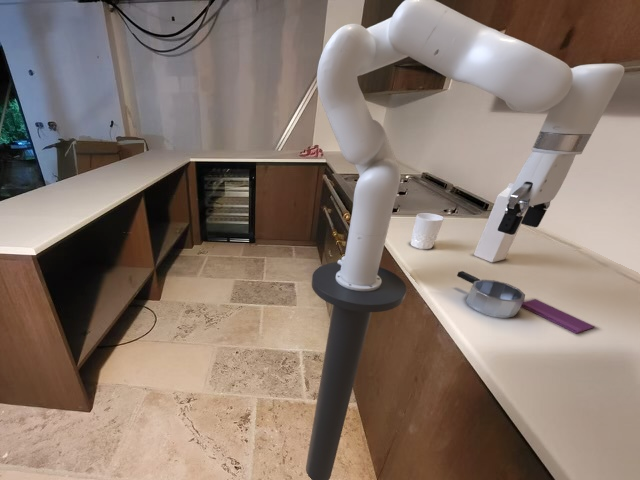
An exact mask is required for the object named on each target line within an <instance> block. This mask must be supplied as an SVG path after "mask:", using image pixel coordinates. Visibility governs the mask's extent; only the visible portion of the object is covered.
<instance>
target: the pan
mask: <svg viewBox="0 0 640 480" xmlns="http://www.w3.org/2000/svg"><path fill="white" fill-rule="evenodd" d="M456 277H458V278H460V279H462V280H464V281H466V282H468V283H470V284H472V285H471V287H470V290H469V292H468V295H467V297H466V304H467V305H468V306H469V307H470V308H472V309H473V310H474V311H476V312H479V313H480V314H482V315H486V316H489V317H493V318H499V319H500V318H501V319H504V318H505V319H510V318H512V317H515V316H516V315H517V314H518V313H519V311H520V309H521V308H522V307H521V305H522V303H523V302H525V300H526V294H525V293H524V292H523V291H522V290H521V289H520V288H518V287H516V286H514V285H512V284H510V283H507V282H503V281H498V280H494V279H480V278H478V277H476V276H474V275H472V274H470V273H468V272H467V271H466V272H465V271H463V270H461V271H460V270H459V271H458V272H457V274H456Z"/></svg>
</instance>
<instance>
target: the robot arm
mask: <svg viewBox="0 0 640 480" xmlns="http://www.w3.org/2000/svg"><path fill="white" fill-rule="evenodd" d="M408 57H409V58H410V59H412V60H414V61H416V62H418V63H420V64H422V65H424V66H426V67H427V68H430V69H432V70H433V71H435V72H437V73H438V74H441V75H442V76H444V77H446V78H448V79H450V80H452V81H454V82H458V83H463V84H468V85H471V86H473V87H476V88H479V89H481V90H483V91H485V92H487V93H489V94H492V95H493V96H495V97H497V98H498V99H501V100H502V101H504V102H505V104H506V106H507V107H508V108H509V109H510V110H512V111H514V112H518V113H526V114H539V113H543V112H545V111H548V112H547V115H546V117H545V119H544V120H543V121H544V122H543V124H542V126H541V128H540V131H539V133H538V134H537V137H536V139H535V141H534V143H533V146H532V148H531V151H532V152H531V153H530V154H529V156H528V157H527V159H526V160H525V163H524V164H523V166H522V168H521V169H520V172H519V173H518V174H517V177H516V179H515V181H514V182H513V183H514V185H513V187H512V189H511V191H510V193H509V195H508V197H507V200H508V201H509V203H508V204H507V209H506V210H505V214H504V216H503V218H502V221H501V223H500V225H499V227H498V231H500V232H503V233H507V234H510V235H513V234H515V233H516V231H517V229H518V227H519V225H520V223H521V225H524V226H526V227H527V226H528V227H532V228H538V227H539V226H540V224H541V222H542V220H543V218H544V216H546V215H545V214H546V212H547V211H548V209H549V208H550V206H551V202H552V201H553V200H554V199H555V198H556V196H557V194H558V193H559V191H560V190H561V187H562V185H563V184H564V182H565V179H566V178H567V176H568V174H569V172H570V169H571V167H572V165H573V162H574V160H575V157H576V156H577V155H578V156H579V155H582V154H583V152H584V150H585V148H586V146H587V145H588V142H589V141H590V139H591V137H592V134H593V133H594V132H595V129H596V128H597V126H598V124H599V122H600V120H601V118H602V116H603V115H604V113H605V111H606V109H607V107H608V106H609V103H610V101H612V98H613V96H614V94H615V92H616V90H617V88H618V87H619V85H620V82H621V81H622V79H623V77H624V74H625V67H624V66H623V65H622V64H621V63H620V64H619V63H591V64H590V63H588V64H580V65H577V66H574V67H570V66H569V65H568V64H567V63H566V62H565V61H563V60H561V59H560V58H558V57H556V56H553V55H552V54H550V53H548V52H546V51H544V50H542V49H540V48H538V47H536V46H534V45H532V44H529V43H527V42H525V41H523V40H521V39H518V38H516V37H513V36H510V35H508V34H505V33H503V32H501V31H499V30H497V29H495V28H492V27H489V26H487V25H485V24H483V23H481V22H479V21H476V20H474V19H473V18H471V17H468V16H467V15H464V14H462V13H461V12H459V11H456V10H455V9H453V8H451V7H449V6H447V5H445V4H443V3H442V2H439V1H437V0H403V1H402V2H401V3H400V4H399V6H397V8H396V9H395V11H394V12H393V14H392V16H391V17H389V18H387V19H385V20H382V21H380V22H378V23H376V24H374V25H371V26H369V27H367V28H366V27H364V26H363V25H361V24H359V23H348V24H345V25H343V26H341V27H339V28H338V29H337V30H336V31H335V32H334V33H333V34H332V35H331V37H330V38H329V39H328V41H327V42H326V44H325V46H324V47H323V50H322V52H321V55H320V57H319V61H318V65H317V70H316V71H317V72H316V86H317V92H318V96H319V99H320V102H321V105H322V107H323V111H324V112H325V115H326V117H327V119H328V122H329V125H330V127H331V130H332V132H333V135H334V137H335V140H336V142H337V144H338V147H339V149H340V152H341V155H342V157H343V158H344V159H345V161H346V162H348V163H349V164H351V165H354V166H355V169H356V172H357V173H358V176H359V177H358V179H357V181H356V185H355V188H354V192H353V203H352V210H351V217H350V223H349V230H348V235H347V239H346V246H345V253H344V256H342V257H341V259H338V260H337V261H336V262H337V263H338V264H339V265H341V270H340V271H338V272H337V273H336V281H337V282H338V283H339V284H340V285H341V286H343V287H345V288H347V289H351V290H355V291H373V290H376V289H378V288H379V287H380V286H381V282H382V280H381V278H380V277H379V276H378V275H377V273H378V269H379V267H380V265H381V261H382V256H383V252H384V248H385V245H386V241H387V235H388V233H389V232H388V231H389V228H390V224H391V220H392V214H393V212H394V211H393V210H394V208H395V203H396V200H397V196H398V192H399V188H400V183H401V178H402V175H401V168H400V166H399V163H398V161H397V158H396V155H395V153H394V150H393V147H392V145H391V143H390V140H389V137H388V135H387V133H386V131H385V128H384V127H383V125H382V124H381V123H380V122H379V121H378V120H375V119H373V116H372V114H371V112H370V110H369V107H368V105H367V101H366V99H365V96H364V94H363V92H362V90H361V87H360V85H359V81H358V77H359V76H363V75H367V74H368V73H370V72H373V71H376V70H378V69H381V68H383V67H386V66H389V65H391V64H394V63H396V62H399V61H402V60H404V59H406V58H408ZM520 205H522V208H521V209H520ZM527 208H528V209H527ZM526 209H527V211H526ZM525 211H526V213H525V215H524V217H523V216H521V215H522V214H523V213H524V212H525ZM522 218H523V220H522ZM521 221H522V222H521Z"/></svg>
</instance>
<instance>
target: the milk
mask: <svg viewBox="0 0 640 480" xmlns="http://www.w3.org/2000/svg"><path fill="white" fill-rule="evenodd" d="M514 183H515V182H509V183H508V185H507V187H506V188H505V189H504V190H502V191H501V192H500V193H498V195H497V197H496V199H495V202H494V204H493V207H492V209H491V211H490V214H489V216H488V218H487V221H486V223H485V225H484V228H483V231H482V233H481V236H480V238H479V240H478V243H477V246H476V248H475V250H474V253H473V256H475V257H477V258H479V259H482V260H485V261H487V262H489V263H495V262H499V261H502V260H505V259H506V258H507V256H508V254H509V251H510V249H511V246H512V244H513V242H514V240H515V238H516V236H517V235H518V232H519V230H520V228H521V225H522V224H521V223H520V225H519V227H518V229H517V231H516V233H515V234H513V235H510V234H507V233H503V232H500V231H498V227H499V225H500V223H501V221H502V218H503V216H504V214H505V210H506V209H507V204H508V203H509V201H508V200H507V197H508V195H509V193H510V191H511V189H512V187H513V185H514ZM521 208H522V205H520V209H521ZM527 209H528V208H527ZM527 209H526V211H527ZM526 211H525V212H524V213H523V214H522V215H521V216H523V217H524V215H525V213H526ZM522 220H523V218H522ZM521 222H522V221H521Z"/></svg>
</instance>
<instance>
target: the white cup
mask: <svg viewBox="0 0 640 480" xmlns="http://www.w3.org/2000/svg"><path fill="white" fill-rule="evenodd" d="M444 220H445V218H444V217H443V216H442V215H439V214H437V213H432V212H431V213H429V212H420V213H416V217H415V221H414V223H413V224H414V225H413V228H412V234H411V240H410V245H411V246H412V247H414V248H416V249H420V250H431V249H432V248H433V247H434V245H435V241H436V240H437V238H438V235H439V232H440V230H441V228H442V225H443V222H444Z"/></svg>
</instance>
